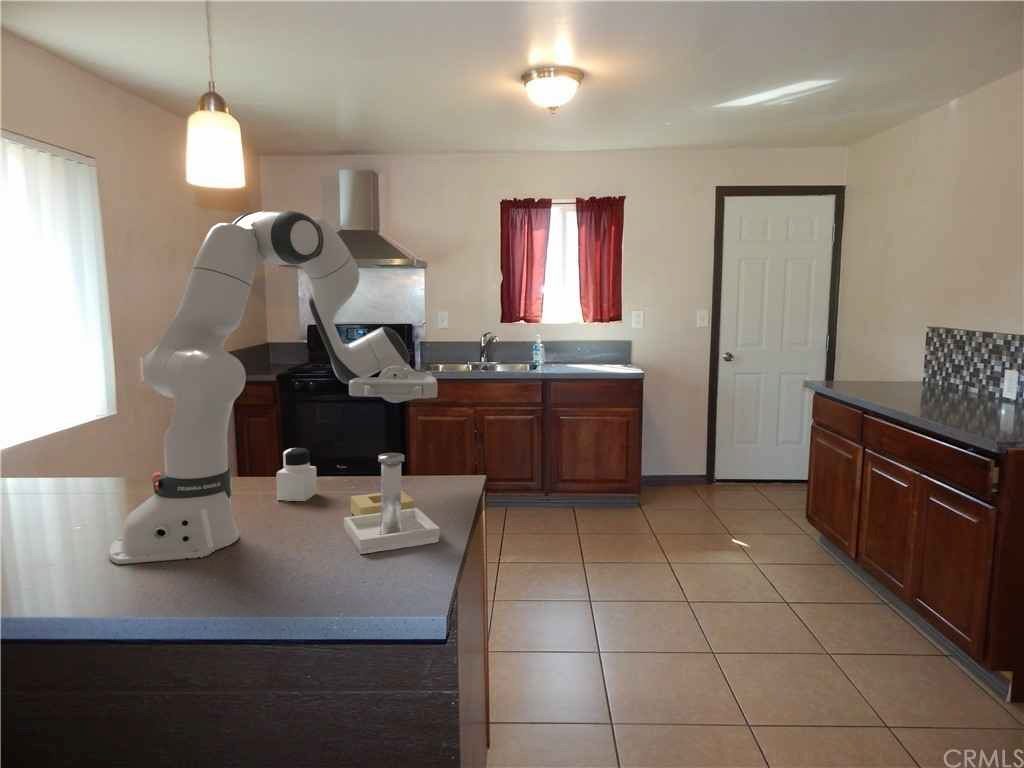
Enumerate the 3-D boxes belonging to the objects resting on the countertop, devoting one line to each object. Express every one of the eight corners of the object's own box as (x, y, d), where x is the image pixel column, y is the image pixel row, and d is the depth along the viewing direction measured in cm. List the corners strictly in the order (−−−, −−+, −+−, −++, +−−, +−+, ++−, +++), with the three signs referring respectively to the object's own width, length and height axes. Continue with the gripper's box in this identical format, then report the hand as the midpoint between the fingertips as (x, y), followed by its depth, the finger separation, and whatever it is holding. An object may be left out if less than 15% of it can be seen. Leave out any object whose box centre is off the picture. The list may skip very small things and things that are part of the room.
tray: (360, 555, 124) (360, 540, 124) (344, 531, 136) (343, 517, 136) (439, 542, 131) (439, 528, 131) (417, 521, 144) (417, 508, 143)
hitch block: (360, 525, 140) (360, 507, 140) (350, 513, 148) (350, 496, 147) (414, 518, 145) (414, 501, 145) (402, 506, 153) (401, 490, 153)
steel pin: (382, 538, 130) (382, 459, 128) (375, 529, 135) (375, 454, 133) (407, 534, 133) (407, 457, 131) (399, 526, 137) (400, 452, 135)
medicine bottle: (317, 494, 162) (316, 446, 161) (305, 502, 155) (304, 453, 154) (289, 492, 163) (288, 445, 161) (276, 501, 156) (275, 452, 154)
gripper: (351, 370, 157) (344, 377, 143) (437, 371, 159) (437, 379, 146) (351, 396, 158) (344, 405, 144) (437, 397, 160) (437, 407, 146)
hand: (392, 392), depth 145 cm, fingers open, 8 cm apart
